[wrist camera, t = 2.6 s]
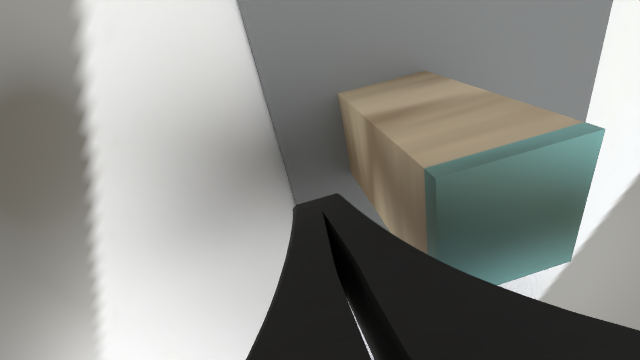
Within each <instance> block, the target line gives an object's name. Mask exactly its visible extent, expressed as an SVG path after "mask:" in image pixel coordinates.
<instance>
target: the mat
mask: <svg viewBox="0 0 640 360" xmlns="http://www.w3.org/2000/svg"><path fill="white" fill-rule="evenodd" d="M237 1H238V4H239V8H240V11H241V15H242V18H243V22H244V25H245V29H246V32H247V36H248V39H249V43H250V46H251V50H252V53H253V57H254V60H255V64H256V67H257V71H258V74H259V78H260V81H261V85H262V88H263V92H264V95H265V99H266V102H267V106H268V109H269V112H270V116H271V119H272V123H273V126H274V130H275V133H276V137H277V140H278V144H279V147H280V151H281V154H282V158H283V161H284V165H285V168H286V172H287V175H288V179H289V182H290V186H291V189H292V193H293V196H294V200H295V203H296V205H298V204H301V203H304V202H308V201H311V200H315V199H318V198H322V197H325V196H329V195H332V194H335V193H338V194H340V195H341V196H343V197H344V198H345V199H346V200H347V201H348V202H349V203H351V204H352V205H353V206H354V207H356V208H357V209H358V210H359V211H361V212H362V213H363V214H365V215H366V216H367V217H369V218H370V219H371V220H373V221H374V222H376V223H377V224H379V225H380V226H381V227H383V228H384V229H386V230H387V231H389V230H388V228H387V227H386V225H385V224H384V222H383V221H382V219H381V218H380V216H379V215H378V213H377V211H376V210H375V208H374V207H373V205H372V204H371V202H370V201H369V199H368V198H367V196H366V195H365V193H364V192H363V190H362V189H361V187H360V186H359V184H358V183H357V181H356V180H355V178H354V177H353V175H352V173H351V167H350V161H349V156H348V150H347V144H346V138H345V132H344V126H343V121H342V115H341V109H340V103H339V97H338V93H341V92H345V91H349V90H353V89H357V88H361V87H364V86H368V85H372V84H376V83H380V82H384V81H388V80H391V79H395V78H399V77H403V76H407V75H411V74H414V73H418V72H422V71H428V72H431V73H434V74H437V75H441V76H444V77H447V78H450V79H453V80H456V81H459V82H462V83H465V84H468V85H471V86H474V87H478V88H481V89H484V90H487V91H490V92H493V93H496V94H499V95H502V96H505V97H508V98H511V99H515V100H518V101H521V102H524V103H527V104H530V105H533V106H536V107H539V108H542V109H545V110H548V111H552V112H555V113H558V114H561V115H564V116H567V117H570V118H573V119H576V120H579V121H582V122H585V121H586V117H587V112H588V108H589V104H590V99H591V95H592V90H593V86H594V82H595V77H596V73H597V68H598V64H599V60H600V55H601V51H602V46H603V42H604V38H605V33H606V29H607V24H608V20H609V16H610V11H611V7H612V2H613V0H237ZM389 232H390V231H389Z"/></svg>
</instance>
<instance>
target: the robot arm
mask: <svg viewBox="0 0 640 360" xmlns="http://www.w3.org/2000/svg"><path fill="white" fill-rule="evenodd" d="M347 300H348V301H347ZM348 302H349V303H348ZM349 304H350V306H349ZM350 307H351V308H350ZM351 309H352V311H353V313H354V315H355V317H356V320H357V322H358V324H359V326H360V328H361V331H362V333H363V335H364V337H365V339H366V342H367V344H368V346H369V348H370V350H371V352H372V355H373V357H374V360H640V331H639V330H635V329H632V328H628V327H625V326H621V325H618V324H614V323H610V322H607V321H603V320H599V319H596V318H592V317H589V316H585V315H582V314H578V313H575V312H572V311H568V310H565V309H562V308H559V307H556V306H553V305H550V304H547V303H544V302H541V301H538V300H535V299H532V298H529V297H526V296H524V295H521V294H518V293H515V292H513V291H510V290H507V289H504V288H502V287H500V286H497V285H495V284H492V283H490V282H487V281H485V280H482V279H480V278H477V277H475V276H472V275H470V274H467V273H465V272H463V271H460V270H458V269H456V268H454V267H452V266H449V265H447V264H445V263H443V262H441V261H439V260H437V259H435V258H433V257H431V256H429V255H428V254H426V253H424V252H422V251H420V250H418V249H417V248H415V247H413V246H411V245H410V244H408V243H406V242H405V241H403V240H401V239H400V238H398V237H397V236H395V235H393V234H392V233H390V232H389V231H387V230H386V229H384V228H383V227H381V226H380V225H379V224H377V223H376V222H374V221H373V220H371V219H370V218H369V217H367V216H366V215H365V214H363V213H362V212H361V211H359V210H358V209H357V208H356V207H354V206H353V205H352V204H351V203H349V202H348V201H347V200H346V199H345V198H344V197H343V196H341V195H340V194H338V193H335V194H332V195H329V196H325V197H322V198H318V199H315V200H311V201H308V202H304V203H301V204H298V205H295V207H294V208H293V223H292V230H291V237H290V241H289V246H288V250H287V255H286V259H285V262H284V266H283V269H282V272H281V276H280V279H279V282H278V285H277V288H276V291H275V294H274V297H273V300H272V302H271V305H270V307H269V310H268V312H267V315H266V317H265V320H264V322H263V324H262V327H261V329H260V331H259V333H258V335H257V337H256V340H255V342H254V344H253V346H252V348H251V350H250V353H249V355H248V357H247V359H246V360H371V358H370V355H369V353H368V351H367V348H366V346H365V343H364V341H363V338H362V336H361V333H360V331H359V328H358V326H357V323H356V321H355V318H354V316H353V313H352V311H351Z"/></svg>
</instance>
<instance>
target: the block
mask: <svg viewBox="0 0 640 360" xmlns="http://www.w3.org/2000/svg"><path fill="white" fill-rule="evenodd" d="M338 97H339V103H340V109H341V115H342V121H343V126H344V132H345V138H346V144H347V150H348V156H349V161H350V167H351V173H352V175H353V177H354V178H355V180H356V181H357V183H358V184H359V186H360V187H361V189H362V190H363V192H364V193H365V195H366V196H367V198H368V199H369V201H370V202H371V204H372V205H373V207H374V208H375V210H376V211H377V213H378V215H379V216H380V218H381V219H382V221H383V222H384V224H385V225H386V227H387V228H388V230H389V231H390V233H392V234H393V235H395V236H397V237H398V238H400V239H401V240H403V241H405V242H406V243H408V244H410V245H411V246H413V247H415V248H417V249H418V250H420V251H422V252H424V253H426V254H428V255H429V256H431V257H433V258H435V259H437V260H439V261H441V262H443V263H445V264H447V265H449V266H452V267H454V268H456V269H458V270H460V271H463V272H465V273H467V274H470V275H472V276H475V277H477V278H480V279H482V280H485V281H487V282H490V283H492V284H495V285H500V284H503V283H506V282H509V281H512V280H515V279H518V278H521V277H524V276H527V275H530V274H533V273H536V272H539V271H542V270H545V269H548V268H551V267H554V266H557V265H560V264H563V263H567V262H570V261H571V258H572V254H573V250H574V246H575V243H576V239H577V235H578V231H579V227H580V224H581V220H582V216H583V212H584V208H585V205H586V201H587V197H588V193H589V189H590V186H591V182H592V178H593V174H594V170H595V167H596V163H597V159H598V155H599V151H600V148H601V144H602V140H603V136H604V132H605V129H604V128H601V127H598V126H595V125H592V124H589V123H585V122H582V121H579V120H576V119H573V118H570V117H567V116H564V115H561V114H558V113H555V112H552V111H548V110H545V109H542V108H539V107H536V106H533V105H530V104H527V103H524V102H521V101H518V100H515V99H511V98H508V97H505V96H502V95H499V94H496V93H493V92H490V91H487V90H484V89H481V88H478V87H474V86H471V85H468V84H465V83H462V82H459V81H456V80H453V79H450V78H447V77H444V76H441V75H437V74H434V73H431V72H428V71H422V72H418V73H414V74H411V75H407V76H403V77H399V78H395V79H391V80H388V81H384V82H380V83H376V84H372V85H368V86H364V87H361V88H357V89H353V90H349V91H345V92H341V93H338Z"/></svg>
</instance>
